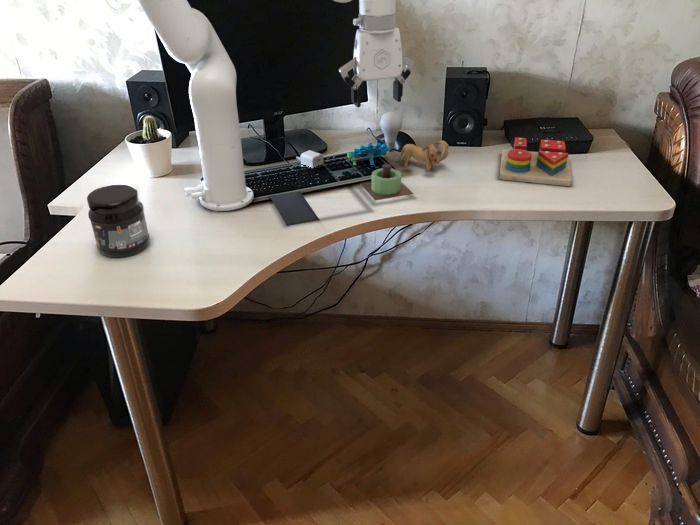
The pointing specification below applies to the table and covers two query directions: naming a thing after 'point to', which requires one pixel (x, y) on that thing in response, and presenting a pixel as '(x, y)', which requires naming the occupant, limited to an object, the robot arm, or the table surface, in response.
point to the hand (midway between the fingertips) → (377, 102)
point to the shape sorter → (536, 163)
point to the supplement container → (118, 220)
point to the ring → (386, 182)
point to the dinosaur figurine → (367, 153)
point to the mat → (294, 208)
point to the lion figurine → (425, 153)
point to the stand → (367, 186)
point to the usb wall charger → (311, 159)
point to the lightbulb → (390, 127)
